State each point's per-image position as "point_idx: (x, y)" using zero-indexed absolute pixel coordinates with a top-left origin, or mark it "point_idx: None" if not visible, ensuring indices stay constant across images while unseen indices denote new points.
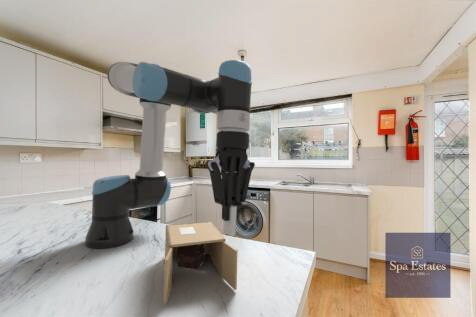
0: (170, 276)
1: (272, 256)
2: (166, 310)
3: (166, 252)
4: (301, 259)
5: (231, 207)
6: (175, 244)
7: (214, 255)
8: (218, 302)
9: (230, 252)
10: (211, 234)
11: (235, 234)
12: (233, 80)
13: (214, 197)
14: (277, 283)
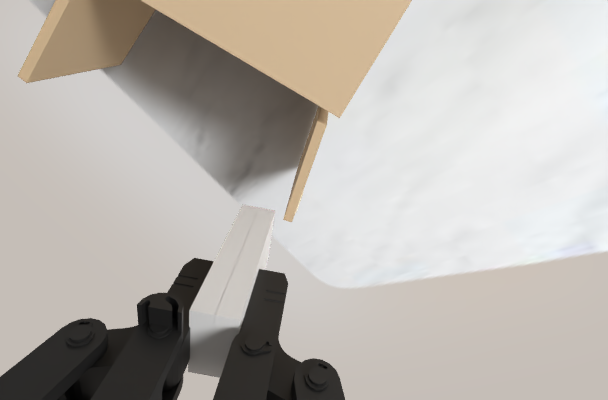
0: (125, 15)
1: (604, 128)
2: (119, 78)
3: None
4: None
5: (189, 368)
6: None
7: None
8: (238, 157)
9: (297, 176)
10: (337, 1)
11: (268, 258)
12: None
13: (28, 361)
14: (414, 226)
